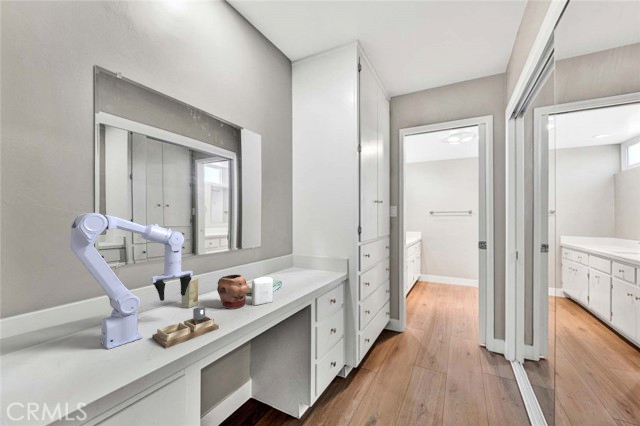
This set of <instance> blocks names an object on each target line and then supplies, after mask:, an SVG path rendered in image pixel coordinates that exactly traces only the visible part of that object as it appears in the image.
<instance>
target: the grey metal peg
mask: <svg viewBox="0 0 640 426" xmlns="http://www.w3.org/2000/svg"><path fill="white" fill-rule="evenodd" d="M192 311H193V312H192V313H193V314H192V318H193V325H198V324H201V323H203V322H205V316H206V307H205V306H197V307H194V308H193V309H192Z"/></svg>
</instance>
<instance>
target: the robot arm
mask: <svg viewBox="0 0 640 426" xmlns="http://www.w3.org/2000/svg"><path fill="white" fill-rule="evenodd" d="M70 229H71V231H70V241H69V243H70V244H69V248H70V250H71V251H72V253H73V254H74V255H75V256H76V257H77V259H79V261H80V262H81V263H82V265H83V266H84V267H85V268H86V269H87V271H88V273H89V274H90V275H91V276H92V277H93V279H94V280H95V281H96V282H97V284H98V285H99V286H100V287H101V288H102V290H103V291H104V292H105V294H106V296H107V297H108V299H109V304H110V305H109V306H110V307H111V308H112V309H113V310H112V312H111V313H110V315H109V316H107V317H104V318H102V320H101V334H100V335H101V336H100V337H101V338H100V343H101V344H102V345H103V346H104V347H105V348H106V349H108V350H109V349H112V348H116V347H119V346H121V345H125V344H128V343H131V342H134V341H137V340H141V339H142V338H143V335H141V334H140V333H138V332H139V331H138V326H139V325H138V324H139V322H138V321H139V308H140V307H141V299H140V297H139V296H137V295H135V294H133V293H132V292H131V291H130V290H129V289H128V288H127V287H126V286H125V285H124V284H123V283H122V282H121V280H120V279H119V278H118V275H116V274H115V272H114V271H113V270H112V268H111V267H110V266H109V264H108V263H107V262H106V260H105V259H104V258H103V257H102V255H101V254H100V253H99V251H98V250H97V249H96V248H95V246H94V245H95V243H96V242H97V239H98V237H99V236H100V235H101V234H102V233H103V232H104V231H105V230H109V231H110V230H114V229H116V230H122V231H125V232H126V231H127V232H131V233H134V234H139V235H141V237H142V239H144V240H146V241H149V242H153V243H157V244H162V245H164V257H163V258H164V262H163V263H164V265H163V266H164V271H163V274H158V275H155V276H150V282H151V283H153V285H154V288H155V290H156V291H157V293H158V297H159V301H161V302H164V301H165V287H166V282H164V281H168V280H174V279H179V282H180V296H181V297H182V296H185V293H186V290H187V287H188V284H189V282H190V281H191V278H192V276H194V271H193V270H183V271H182V246H183V244H184V242H185V238H184V234H182V232H180V231H174V230H172V228H169V227H168V228H166V227H161V226H159V224H158V223H153V224H152V223H149V224H147V225H143V224H139V223H137V222H133V221H130V220H127V219H124V218H121V217H118V216H115V215H108V214H101V213H99V212H90V213H89V212H86V213H81V214H79V215H78V216H76V217H75V219H74V220H73V222H72V224H71V226H70Z"/></svg>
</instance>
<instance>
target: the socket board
mask: <svg viewBox="0 0 640 426" xmlns="http://www.w3.org/2000/svg"><path fill="white" fill-rule="evenodd" d="M219 327H220V326H219V324H217V323H215V320H214V318H212V317H209V316H207V315H205V322H203V323H201V324H198V325H193V317H192V318H190V319H186V320H183V323H182V322H177V323H174V324H171V325H167V326H164V327H161V328H158V329H157V330H156V333H154V334H152V337H151V338H152V339H153V340H154V341H155V342H157V343H158V344H160V345H161V346H162V347H164V348H166V349H168V348H171V347H174V346H176V345H179V344H181V343H184V342H187V341H189V340H192V339H195V338H198V337H200V336H203V335H205V334H208V333H211V332H213V331H217V330H218V329H219Z"/></svg>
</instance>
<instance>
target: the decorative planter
mask: <svg viewBox="0 0 640 426" xmlns="http://www.w3.org/2000/svg"><path fill="white" fill-rule="evenodd" d="M247 283H248V282H247V280H246V277H245V276H244V275H241V274H229V275H225V276H222V277H220V278H219V279H218V280H217V288H216V290H217V294H218V296H219V299H220V301H221V304H222V307H223V308H225V309H238V308H241V307H244V306H245V305H246V300H247V297H246V296H247V295H245V294H246V292H248V290H249V286H248V284H247Z"/></svg>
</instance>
